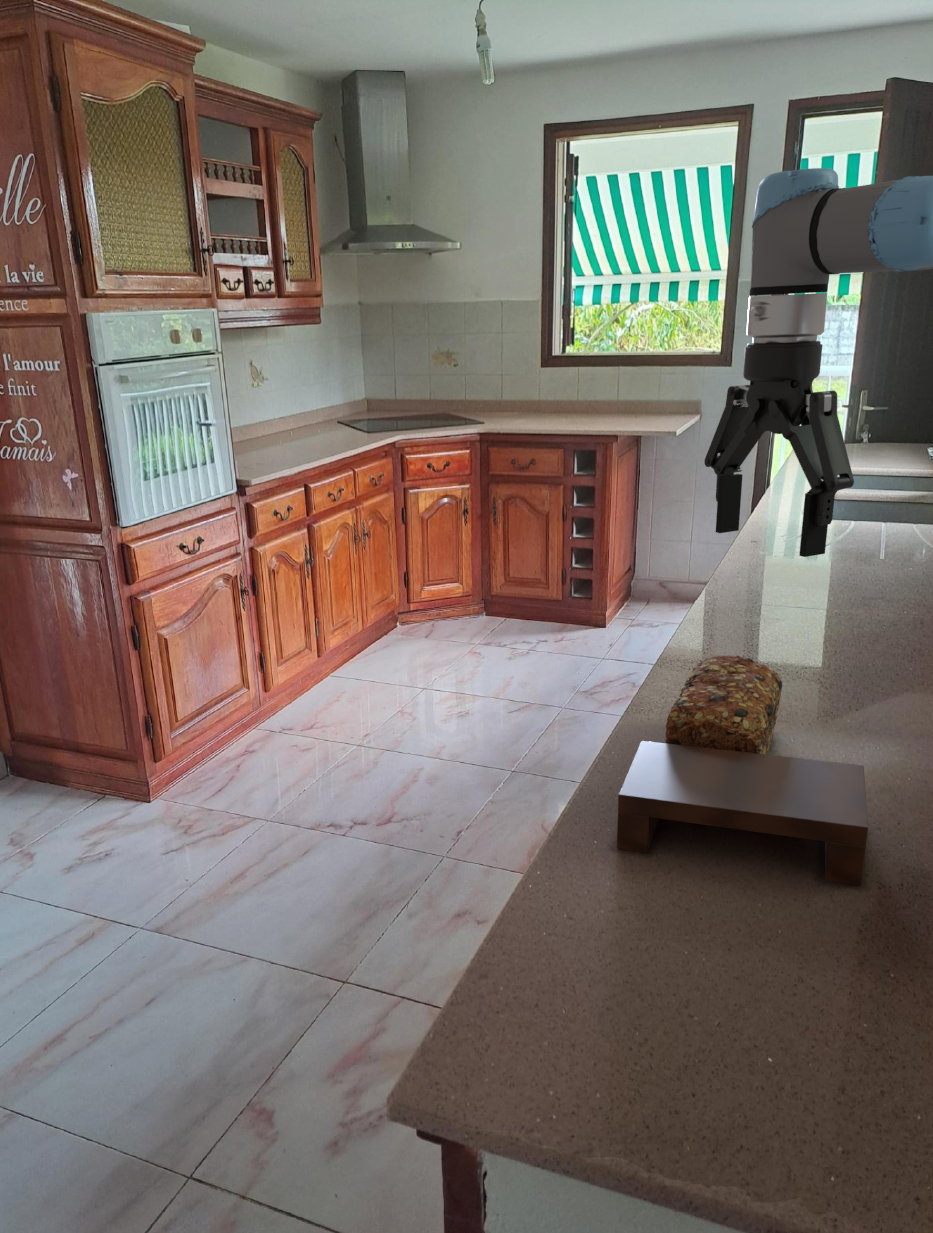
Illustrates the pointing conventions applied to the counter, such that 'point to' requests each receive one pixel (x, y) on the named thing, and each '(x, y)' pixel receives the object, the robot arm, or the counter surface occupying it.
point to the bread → (726, 706)
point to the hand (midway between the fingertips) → (767, 542)
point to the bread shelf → (748, 799)
